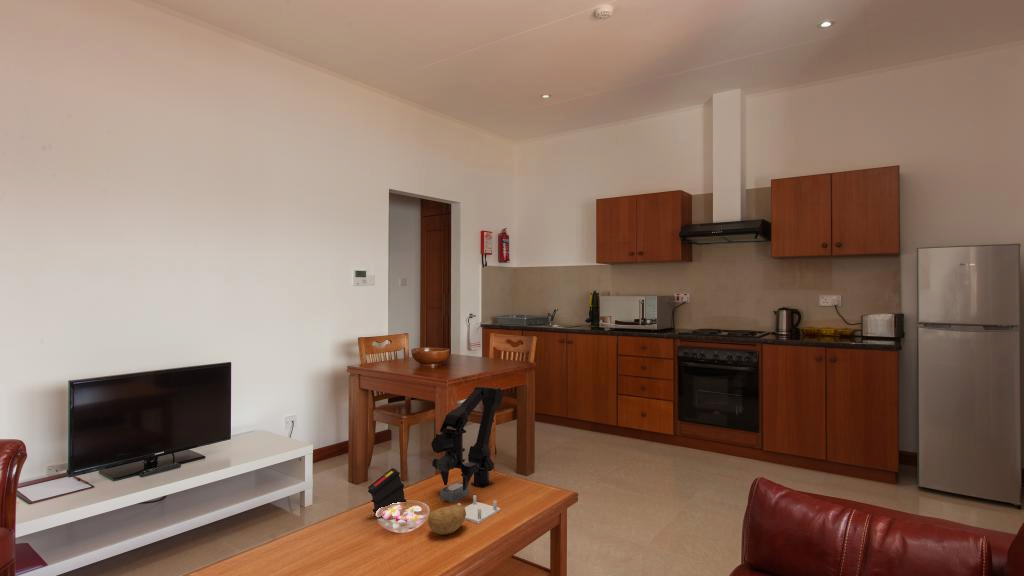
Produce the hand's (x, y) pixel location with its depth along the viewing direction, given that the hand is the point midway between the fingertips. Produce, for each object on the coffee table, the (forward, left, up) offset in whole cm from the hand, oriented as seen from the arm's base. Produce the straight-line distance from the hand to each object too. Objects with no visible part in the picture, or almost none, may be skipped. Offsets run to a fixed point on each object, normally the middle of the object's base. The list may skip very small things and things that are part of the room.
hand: (455, 487), depth 201 cm
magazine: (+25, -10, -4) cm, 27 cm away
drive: (0, 0, -4) cm, 4 cm away
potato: (+24, +17, -4) cm, 30 cm away
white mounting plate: (+7, +16, -4) cm, 18 cm away
